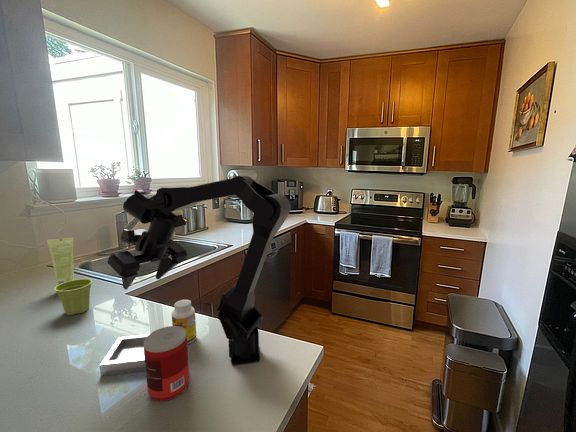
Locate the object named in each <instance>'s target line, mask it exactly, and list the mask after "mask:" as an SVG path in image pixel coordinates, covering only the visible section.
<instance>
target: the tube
mask: <svg viewBox="0 0 576 432" xmlns="http://www.w3.org/2000/svg"><path fill="white" fill-rule="evenodd" d="M74 238H75V237H65V238H56V239H55V238H54V239H53V238H52V239H46V243H47V248H48V249H49V253H50V259H51V261H52V266H53V271H54V277H55V283H56V286H57V285H59V284H62V283H64V282H68V281H72V280H75V275H74V274H75V272H74Z"/></svg>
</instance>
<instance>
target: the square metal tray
mask: <svg viewBox="0 0 576 432" xmlns="http://www.w3.org/2000/svg"><path fill="white" fill-rule="evenodd" d="M149 334H150V333H145V334H136V335H127V336H126V335H125V336H118V338H117V339H116V340H115V342H114V343H113V345H112V346H111V348H110V349H109V351H108V352H107V354H106V355H105V356H104V358H103V359H102V361H101V363H99V374H100V377H106V376H113V375H121V374H130V373H137V372H146V368H145V358H144V340H145V338H146V337H147V336H148V335H149Z"/></svg>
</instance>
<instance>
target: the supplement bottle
mask: <svg viewBox="0 0 576 432" xmlns="http://www.w3.org/2000/svg"><path fill="white" fill-rule="evenodd" d="M173 307H174V309H173V311H171V324H172V325H171V326H179V327H182V328H184V329H185V331H186V335H187V345H190V344H191V343H193V342H194V341H195V340H196V338H197V322H196V310H195V308H194V307H193V306H192V301H191V300H190V299H180V300H178V301H175V303H174V306H173Z"/></svg>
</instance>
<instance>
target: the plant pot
mask: <svg viewBox="0 0 576 432" xmlns="http://www.w3.org/2000/svg"><path fill="white" fill-rule="evenodd" d="M92 283H93V280H92V279H91V278H90V279H89V278H77V279H74V280H72V281H68V282H64V283H62V284H59V285H57V284H56V286H55V287H54V288H53V289H54V292H56V294H57V295H58V297H59V300H60V302H61V305H62V309H63V311H64V314H65V315H67V316H73V315H75V314H82V313H84V312H86V311H87V310H89V309H90V295H91V292H90V291H91V287H92Z"/></svg>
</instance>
